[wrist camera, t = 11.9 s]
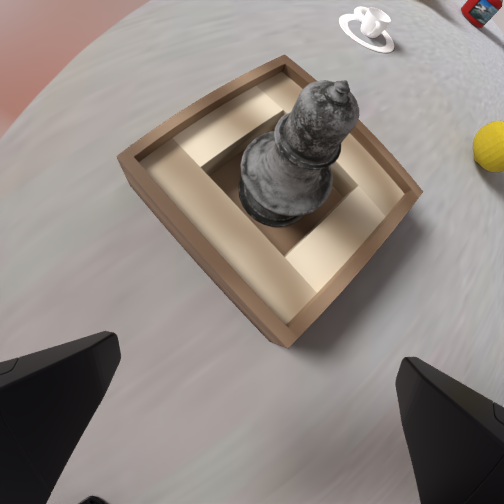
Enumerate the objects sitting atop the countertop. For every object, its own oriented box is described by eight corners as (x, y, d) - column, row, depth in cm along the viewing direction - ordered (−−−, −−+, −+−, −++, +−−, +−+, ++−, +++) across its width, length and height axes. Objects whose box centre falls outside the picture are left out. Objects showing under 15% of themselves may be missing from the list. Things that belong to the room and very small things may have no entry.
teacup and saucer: (353, 9, 32) (363, -10, 28) (400, 41, 32) (413, 23, 28) (327, 27, 29) (339, 4, 25) (382, 63, 29) (398, 42, 26)
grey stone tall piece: (216, 185, 21) (239, 60, 10) (275, 142, 23) (333, 23, 11) (273, 248, 21) (359, 173, 9) (329, 198, 23) (427, 108, 11)
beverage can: (469, 24, 41) (496, -4, 29) (454, 6, 42) (478, -22, 30) (484, 32, 42) (509, 7, 30) (469, 15, 43) (493, -11, 31)
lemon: (457, 132, 29) (500, 101, 21) (485, 150, 30) (526, 124, 22) (463, 171, 28) (512, 141, 20) (491, 187, 28) (537, 164, 21)
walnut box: (269, 341, 21) (288, 348, 16) (129, 185, 21) (116, 156, 17) (391, 209, 25) (423, 191, 20) (272, 88, 25) (284, 54, 21)
